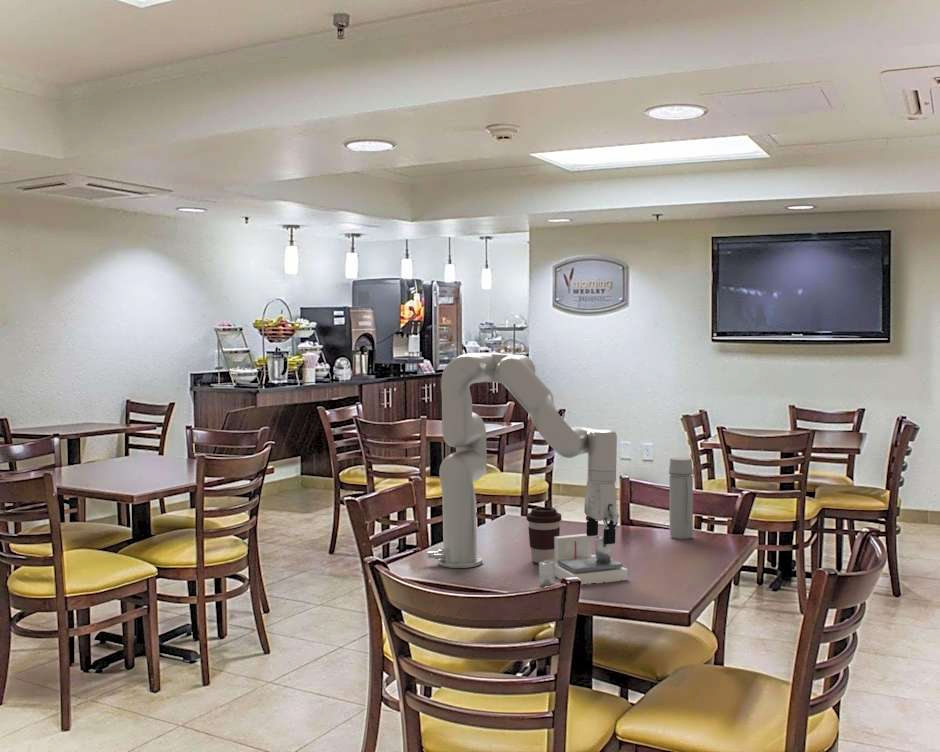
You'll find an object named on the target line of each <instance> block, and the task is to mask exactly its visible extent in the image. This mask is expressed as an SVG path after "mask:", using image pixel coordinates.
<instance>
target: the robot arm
mask: <svg viewBox="0 0 940 752" xmlns="http://www.w3.org/2000/svg"><path fill="white" fill-rule="evenodd" d="M440 381H441V382H440V389H441V422H442V423H441V424H442V425H441V426H442V427H441V428H442V438H443V441H444V443H446V445H448V446H449V447H451V448H455V452H452V453H450V454H449V455H447V456H445V457H444V458H443V460H442V461H441V464H440V466H439V482H440V487H441V488H440V489H441V497H442V538H443V539H442V540H443V542H442V544H443V545H442V546H440V547H439V548H440V549H437V551H436V550H432V551H426V558H427V559H429V560H430V559H433V560H437V563H438V565H439V566H441V567H443V568H450V569H467V568H474V567H478V566H480V565H482V564H483V558H482V557H481V556H480V555H478V552H477V551H478V550H477V549H478V548H477V545H478V543H477V534H478V533H477V497H476V490H475V486H474V482H475V481H477V480H479V479H480V478H482V477H483V476H484V474H485V472H486V470H487V465H488V464H487V463H488V458H487V455H488V453H487V430H486V425H485V422H484V420H483V418H482V417H481V416H480V415H479V414H477V413H475V412H473V400H472V398H473V397H472V394H471V393H472V392H471V390H470V387H471V385H472V384H476V383H477V384H479V383H496V384H502V385H503V386H504V388H506V389H507V391H508V392H509V393H510V394H511V396H513V397H514V398H515V400H516V402H517V401H518V403H519V404H520V405H521V406H522V408H524V410H525V411H526V412H527V413H528V415H529V418H530V420H531V421H532V423H533V426H534V427H535V429H536V430H537V432H538V433H539V435H540V436H541V437H542V438H543V440H544V441H545V442H546V443H547V445H549V446H550V447H551V449H553V451H554V452H555V453H557V454H558V455H560V456H561V457H562V458H567V459H572V458H575V457H577V456H578V457H579V456H580V455H584V454H587V479H586V480H587V481H586V487H585V492H584V493H585V494H584V509H583V510H584V514H585V515H586V517H585V520H586V532H585V534H586V535H587V536H591V537H594V536H596V537H598V535H599V522H601V521H602V522H603V526H604V528H603V537H604V540H603V543H604V544H611V545H615V544H616V530H617V526H618V522H619V517H620V515H619V513H618V511H617V491H616V490H617V489H616V483H617V453H618V452H617V449H618V435H617V432H616V431H615V430H612V429H609V428H608V429H606V428H597V429H595V428H594V429H593V428H588V427H582V426H573V427H571V426H570V425H569V424H568V423H567V422H566V421H565V420H564V419H563V417H562V416H561V415H560V413H559V412H558V410H557V409H556V405H555V402H554V395H553V392H552V391H551V390H550V389H549V388H548V387H547V385H546V384H545V383H544V382H543V381H542V380H541V379H540V378H539V377H538V375H536V366H535V364H534V362H533V360H531V359H530V357H528V356H526V355H522V354H507V353H496V352H495V353H494V352H493V353H492V352H469V353H464V354H461V355H458V356H456V357H455V358H453V359H452V360H451V361H449V362H448V363H447V364H446V365H445V367H444V369H443V371H442V375H441V379H440Z"/></svg>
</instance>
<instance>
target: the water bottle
mask: <svg viewBox="0 0 940 752" xmlns="http://www.w3.org/2000/svg"><path fill="white" fill-rule="evenodd" d="M692 461H693V460H692V458H689V457H684V456H683V457H682V456H681V457H679V456H677V457H671V458H670V459H669V466H668V467H669V468H668V475H669V481H668V483H669V486H668V487H669V536H670V537H671V538H672V539H675V540H690V539H691V538H692V537H693V536H694V512H693V511H694V485H693V484H694V481H693V480H694V477H695V473H694V472H693V470H694V469H693V462H692ZM689 538H690V539H689Z"/></svg>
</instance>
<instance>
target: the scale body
mask: <svg viewBox="0 0 940 752" xmlns="http://www.w3.org/2000/svg"><path fill="white" fill-rule="evenodd" d="M554 551H555V559H548V560H544V561H550V562H554V563H555V578H558V579H560V580H561V579H562V578H565V577H578V578H580V579H581V580H582V583H583V584H587V583H589V584H587V585H591V584H590V583H596V584H602V583H603V582H605V583H613V582H619V581H621V580H622V581H628V580H629V579H628V578H629V576H628V572H629V569H628V568H626V567H623V566H622V568H613V569H604V570H595V571H586V572H577V573H574V572H572V571H570V570H568V569H566V568H565V567H563V566H561V565H559V564H558V560H564V559H573V558H583V557H593V556H596V554H592V536H587V535H586V533H580V534H566V535H561V536H560V535H559V536H556V537H554ZM603 584H604V583H603Z"/></svg>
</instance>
